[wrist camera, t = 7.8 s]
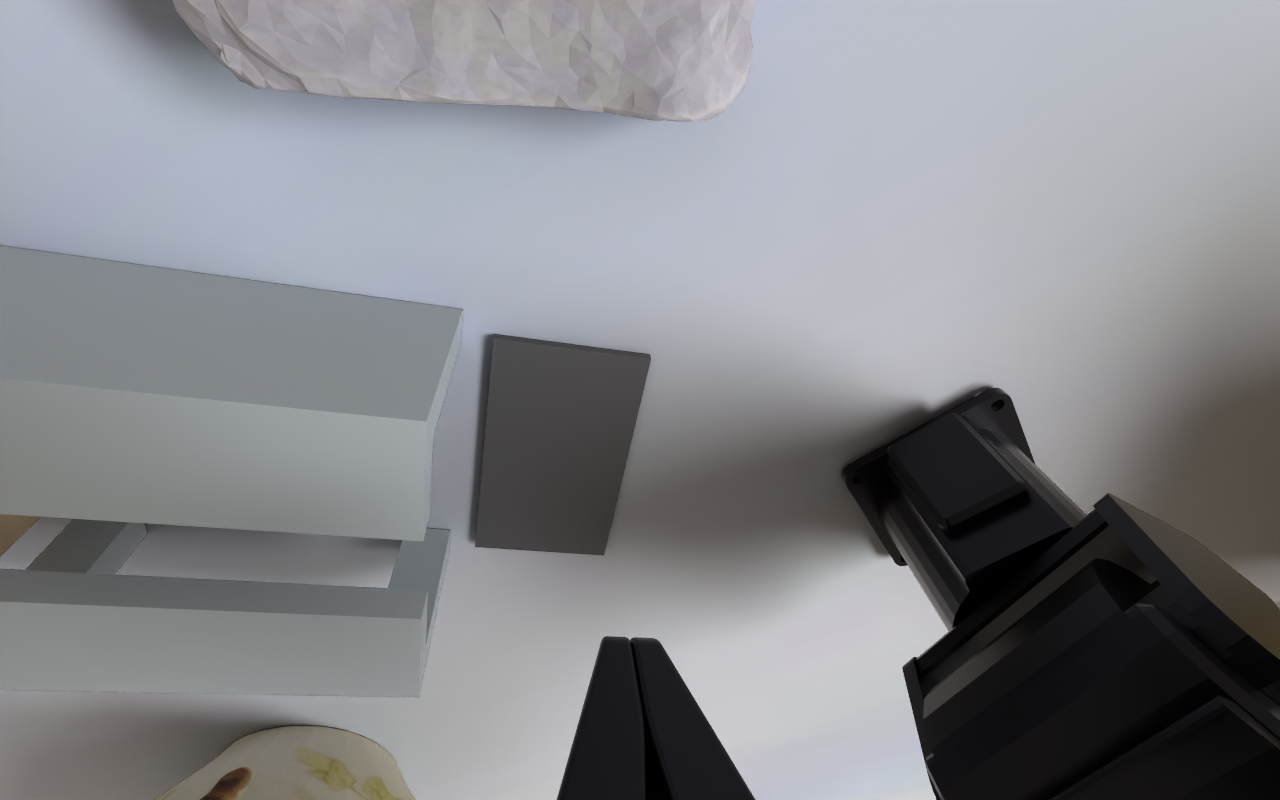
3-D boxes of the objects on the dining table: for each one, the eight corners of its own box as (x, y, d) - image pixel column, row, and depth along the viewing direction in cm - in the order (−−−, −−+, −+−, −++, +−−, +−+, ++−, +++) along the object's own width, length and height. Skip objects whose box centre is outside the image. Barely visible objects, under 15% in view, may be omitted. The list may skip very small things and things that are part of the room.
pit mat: (649, 354, 20) (650, 359, 20) (603, 549, 25) (603, 555, 25) (494, 334, 19) (493, 338, 19) (476, 541, 24) (474, 547, 24)
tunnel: (463, 309, 19) (426, 421, 14) (449, 552, 24) (419, 697, 19) (-4, 244, 16) (-256, 352, 11) (95, 530, 22) (-45, 689, 17)
